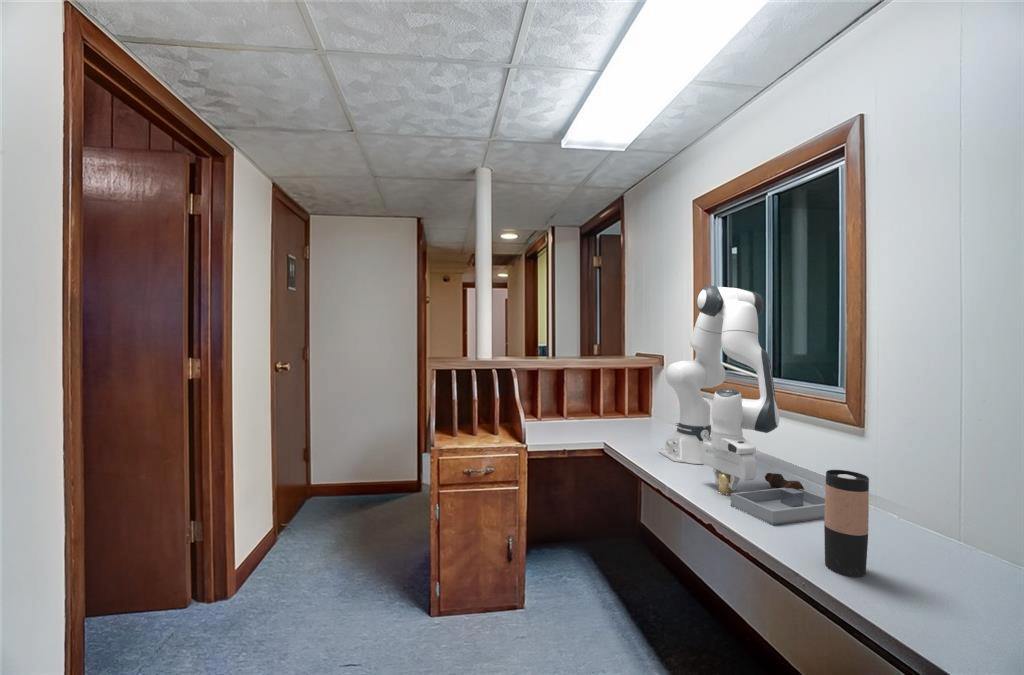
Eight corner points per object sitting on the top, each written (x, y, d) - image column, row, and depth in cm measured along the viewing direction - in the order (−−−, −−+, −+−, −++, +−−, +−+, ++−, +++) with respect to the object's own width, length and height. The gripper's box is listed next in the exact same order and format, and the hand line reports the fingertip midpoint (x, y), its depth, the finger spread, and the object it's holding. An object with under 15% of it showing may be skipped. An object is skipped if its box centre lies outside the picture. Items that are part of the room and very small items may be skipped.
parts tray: (730, 505, 139) (731, 493, 139) (794, 498, 146) (794, 486, 146) (772, 525, 125) (772, 511, 125) (840, 516, 132) (840, 502, 132)
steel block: (780, 502, 140) (780, 489, 140) (791, 501, 142) (791, 487, 142) (792, 507, 137) (792, 493, 137) (803, 506, 138) (803, 492, 138)
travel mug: (816, 559, 106) (818, 468, 106) (853, 561, 106) (855, 470, 105) (835, 576, 99) (838, 479, 99) (876, 579, 98) (878, 480, 98)
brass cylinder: (715, 491, 152) (716, 472, 152) (726, 490, 153) (726, 471, 153) (725, 495, 148) (725, 476, 148) (735, 494, 149) (735, 475, 149)
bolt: (771, 488, 159) (798, 503, 144) (758, 480, 159) (783, 494, 144) (780, 473, 159) (807, 486, 144) (766, 465, 159) (793, 477, 144)
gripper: (695, 435, 159) (695, 477, 159) (743, 450, 140) (742, 497, 140) (711, 434, 161) (710, 475, 161) (760, 448, 142) (759, 495, 142)
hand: (725, 486), depth 150 cm, fingers open, 4 cm apart
